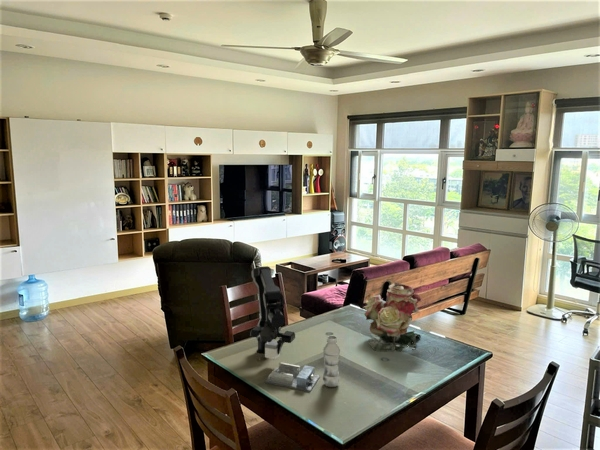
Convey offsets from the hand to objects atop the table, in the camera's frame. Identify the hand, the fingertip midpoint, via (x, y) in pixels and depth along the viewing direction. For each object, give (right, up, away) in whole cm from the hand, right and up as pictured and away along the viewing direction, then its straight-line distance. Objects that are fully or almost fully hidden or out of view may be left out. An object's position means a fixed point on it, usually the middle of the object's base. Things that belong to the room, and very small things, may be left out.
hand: (272, 352), depth 188 cm
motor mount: (+8, -8, -10) cm, 15 cm away
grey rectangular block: (0, -1, 0) cm, 1 cm away
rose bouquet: (+56, -3, +25) cm, 62 cm away
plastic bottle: (+24, -9, -14) cm, 29 cm away
